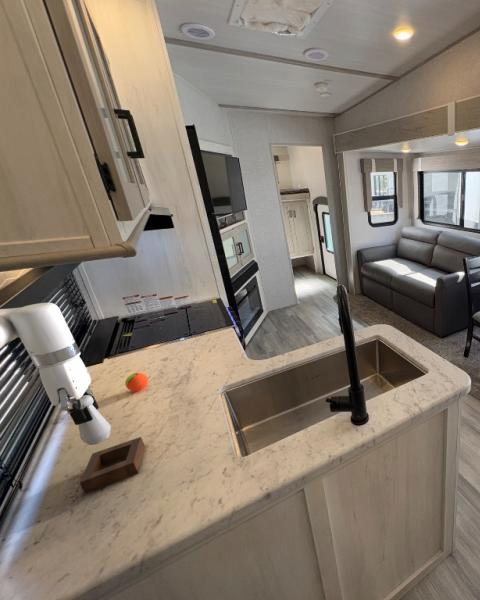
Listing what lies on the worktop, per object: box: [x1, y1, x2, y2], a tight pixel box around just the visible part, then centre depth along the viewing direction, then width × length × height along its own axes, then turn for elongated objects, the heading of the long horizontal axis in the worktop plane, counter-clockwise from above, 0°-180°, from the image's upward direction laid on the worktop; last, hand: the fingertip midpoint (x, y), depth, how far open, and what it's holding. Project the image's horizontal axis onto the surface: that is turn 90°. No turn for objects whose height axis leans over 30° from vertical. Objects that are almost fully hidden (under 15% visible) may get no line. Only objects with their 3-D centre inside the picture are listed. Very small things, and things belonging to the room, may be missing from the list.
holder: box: [79, 436, 146, 495], centre depth 86 cm, size 11×11×4 cm
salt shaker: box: [71, 395, 112, 446], centre depth 79 cm, size 6×6×13 cm
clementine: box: [124, 372, 149, 392], centre depth 121 cm, size 8×7×7 cm
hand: (87, 415), depth 79 cm, fingers closed on salt shaker, 4 cm apart
